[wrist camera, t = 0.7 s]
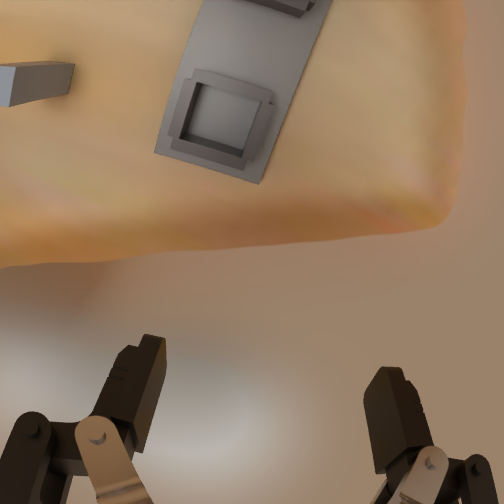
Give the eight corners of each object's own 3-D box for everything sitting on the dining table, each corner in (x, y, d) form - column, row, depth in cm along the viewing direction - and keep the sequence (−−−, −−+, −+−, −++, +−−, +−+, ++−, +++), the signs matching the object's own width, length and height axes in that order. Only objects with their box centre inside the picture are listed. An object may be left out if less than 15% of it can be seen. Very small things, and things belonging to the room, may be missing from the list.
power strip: (241, -72, 17) (236, -131, 8) (345, -39, 19) (388, -84, 9) (158, 149, 29) (113, 187, 19) (258, 179, 30) (260, 231, 21)
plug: (48, 60, 23) (-13, 65, 15) (74, 64, 24) (15, 67, 15) (41, 89, 25) (-19, 103, 16) (67, 94, 25) (8, 107, 17)
